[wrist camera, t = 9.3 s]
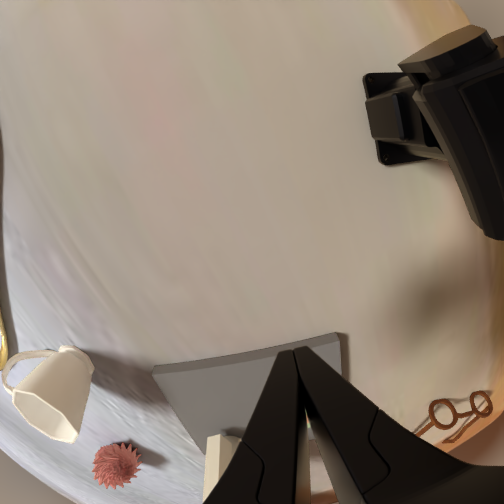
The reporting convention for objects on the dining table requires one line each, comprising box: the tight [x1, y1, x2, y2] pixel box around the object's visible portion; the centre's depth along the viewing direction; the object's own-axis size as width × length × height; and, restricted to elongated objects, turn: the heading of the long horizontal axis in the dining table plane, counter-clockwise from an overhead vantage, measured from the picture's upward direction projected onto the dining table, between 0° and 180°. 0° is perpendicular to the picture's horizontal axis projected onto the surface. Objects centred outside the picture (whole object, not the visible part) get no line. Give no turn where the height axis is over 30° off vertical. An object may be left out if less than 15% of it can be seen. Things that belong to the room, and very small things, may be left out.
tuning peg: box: [203, 415, 309, 502], centre depth 22 cm, size 9×10×10 cm
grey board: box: [152, 332, 342, 455], centre depth 26 cm, size 16×14×1 cm
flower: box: [92, 442, 142, 489], centre depth 27 cm, size 8×8×6 cm
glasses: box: [415, 391, 493, 443], centre depth 30 cm, size 13×13×5 cm
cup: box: [2, 346, 95, 444], centre depth 20 cm, size 7×10×8 cm
